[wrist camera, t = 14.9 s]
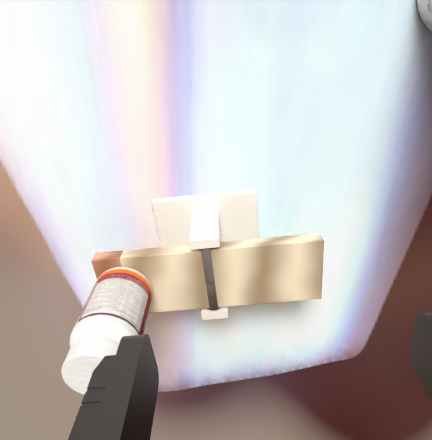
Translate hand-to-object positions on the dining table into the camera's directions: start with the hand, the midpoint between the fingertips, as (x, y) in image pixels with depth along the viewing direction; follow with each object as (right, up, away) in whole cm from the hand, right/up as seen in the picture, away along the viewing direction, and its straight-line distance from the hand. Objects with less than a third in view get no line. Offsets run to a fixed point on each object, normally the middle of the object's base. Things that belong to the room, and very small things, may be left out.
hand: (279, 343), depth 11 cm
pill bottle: (-12, -3, +28) cm, 30 cm away
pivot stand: (-3, +1, +34) cm, 34 cm away
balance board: (-3, -2, +28) cm, 28 cm away
